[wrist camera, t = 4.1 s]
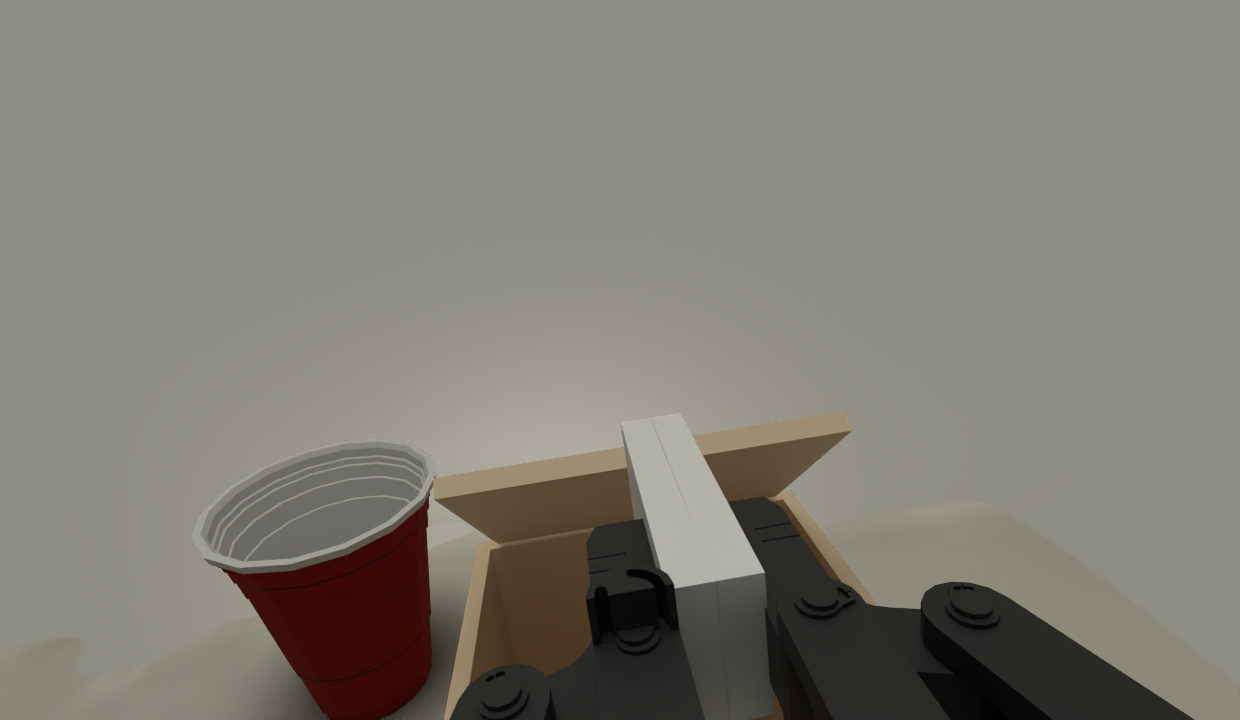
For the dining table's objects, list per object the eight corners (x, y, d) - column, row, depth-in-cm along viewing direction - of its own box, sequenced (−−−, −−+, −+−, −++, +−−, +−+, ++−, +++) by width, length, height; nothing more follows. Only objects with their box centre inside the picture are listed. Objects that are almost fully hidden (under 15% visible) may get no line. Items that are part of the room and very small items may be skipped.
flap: (498, 544, 27) (434, 499, 18) (497, 529, 27) (433, 478, 18) (775, 496, 28) (852, 430, 18) (771, 483, 28) (846, 411, 19)
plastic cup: (278, 825, 27) (186, 588, 23) (259, 675, 36) (189, 486, 32) (511, 692, 32) (464, 482, 29) (444, 590, 41) (402, 420, 38)
